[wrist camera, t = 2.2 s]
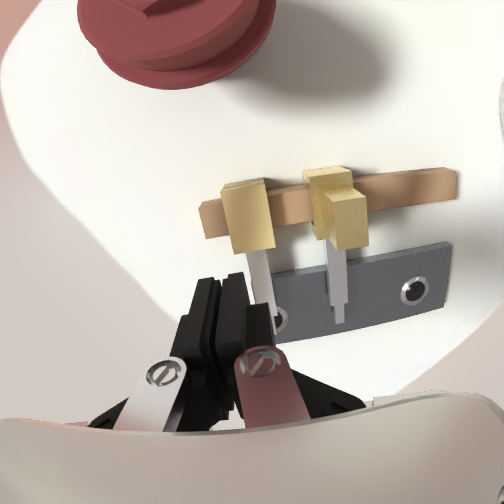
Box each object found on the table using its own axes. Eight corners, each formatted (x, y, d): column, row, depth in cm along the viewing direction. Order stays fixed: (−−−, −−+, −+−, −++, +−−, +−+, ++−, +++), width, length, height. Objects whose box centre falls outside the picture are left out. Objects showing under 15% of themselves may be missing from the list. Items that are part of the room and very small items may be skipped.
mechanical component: (254, 109, 21) (129, 95, 20) (279, -4, 17) (155, -13, 16) (256, 88, 9) (28, 81, 9) (300, -96, 5) (91, -87, 5)
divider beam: (442, 155, 21) (463, 160, 19) (438, 284, 27) (453, 300, 24) (199, 188, 23) (191, 198, 20) (234, 324, 28) (232, 346, 25)
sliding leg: (339, 165, 22) (372, 182, 16) (349, 306, 27) (372, 356, 21) (302, 170, 22) (322, 189, 16) (318, 312, 27) (334, 364, 21)
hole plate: (446, 241, 25) (452, 246, 24) (439, 302, 27) (444, 307, 26) (244, 278, 26) (243, 284, 25) (258, 340, 29) (258, 347, 28)
